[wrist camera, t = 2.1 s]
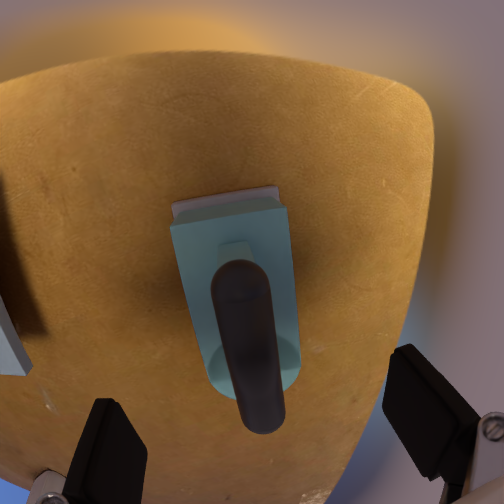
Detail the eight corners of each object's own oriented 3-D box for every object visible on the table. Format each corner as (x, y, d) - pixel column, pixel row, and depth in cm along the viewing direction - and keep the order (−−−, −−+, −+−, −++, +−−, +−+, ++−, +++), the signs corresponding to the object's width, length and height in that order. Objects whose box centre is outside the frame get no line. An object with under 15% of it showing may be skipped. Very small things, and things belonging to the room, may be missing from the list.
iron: (173, 201, 17) (128, 247, 8) (275, 185, 17) (332, 213, 9) (211, 363, 21) (213, 469, 12) (292, 348, 21) (331, 447, 12)
